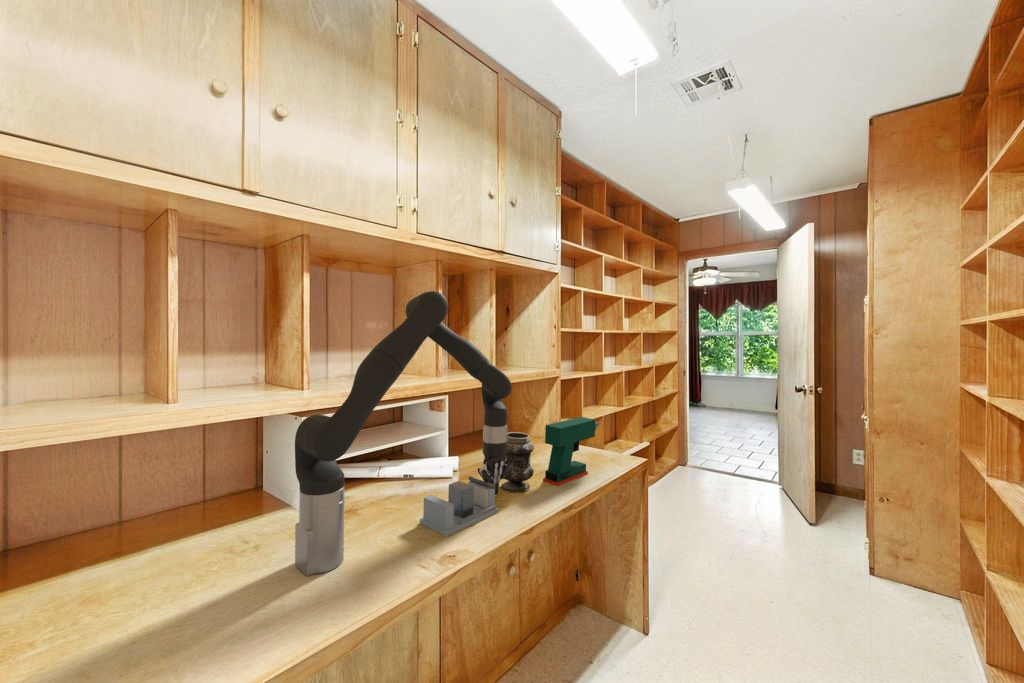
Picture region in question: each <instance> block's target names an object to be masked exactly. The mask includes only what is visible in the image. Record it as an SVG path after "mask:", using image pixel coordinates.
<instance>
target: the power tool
mask: <svg viewBox="0 0 1024 683" xmlns="http://www.w3.org/2000/svg"><path fill="white" fill-rule="evenodd" d="M601 424H602V422H597V421H596V419H594V418H589V417H585V416H580V417H575V418H571V419H565V420H562V421H557V422H553V423H549V424H548V423H547V424H545V429H544V430H545V434H544V435H545V437H544V444H546V445H550V446H551V452H550V457H549V462H548V467H547V470H545V472H544V474H545V475H544V477H543V478H542V482H544V483H546V484H550V485H551V486H555V487H560V486H562V485H564V484H567V483H570V482H571V481H574V479H575V480H577V479H579V477H580V478H582V477H584V475H585V476H587V475H588V474H589V471H588V470H587V464H586V463H584V462H580V461H577V460H572V458H573V453H575V452H577V451H579V450H580V442H582V441H586V440H588V439H592V438H595V437H596V431H597V429H598V426H600V425H601Z"/></svg>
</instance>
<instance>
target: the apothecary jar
mask: <svg viewBox="0 0 1024 683" xmlns="http://www.w3.org/2000/svg"><path fill="white" fill-rule="evenodd" d="M534 450H535V444H534V443H533V441H531V436H530V434H528V433H525V432H520V431H510V432H509V431H508V437H507V454H506V455H505V457H506V460H507V461H510V465H509V468H508V470H507V472H506V474H505V476H504V479H503V480H506V481H505V482H504V483H501V485H500V488H501V490H503V491H504V492H507V493H513V494H515V493H516V494H520V493H527V492H528V491H529V490H530V489H531V486H530V484H529V483H528V482H526V481H528V480H530V479H531V478H532V477H533V475H534V474H535V473H534V472H535V471H534V468H533V466H532V465H531V455H532V453H533V452H534ZM502 472H503V471H502Z"/></svg>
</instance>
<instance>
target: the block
mask: <svg viewBox="0 0 1024 683" xmlns="http://www.w3.org/2000/svg"><path fill="white" fill-rule="evenodd" d="M447 502H449V503H452V504H454V515H455V516H458V517H460V518H462V519H464V518H466V517H468V516H470V515H472V514H473V502H474V486H472V485H469V484H468V483H466V482H464V481H461V480H458V481H455V482H452V483H449V484H448V501H447Z"/></svg>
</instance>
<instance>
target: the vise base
mask: <svg viewBox="0 0 1024 683" xmlns="http://www.w3.org/2000/svg"><path fill="white" fill-rule="evenodd" d="M499 510H500V509H499V507H497V505H496V504H495V505H492V506H490V507H488V508H486V509H485V508H482V507H480V506H477V505H475V504H473V514H472V515H470V516H468V517H466V518H464V519H462V518H460V517H458V516H455V515H454V504H452V503H449V502H448V501H446V500H444V499H443V498H440V497H438V496H436V495H433V494H429V495H427V496H424V497H423V515H422V516H423V517H421V518H419V524H421V525H422V526H425V527H427V528H429V529H431V530H432V531H435V532H437V533H438V534H440V535H442V536H444V537H448V536H451V535H453V534H455V533H457V532H459V531H462V530H463V529H466V528H468V527H470V526H472V525H474V524H476V523H478V522H481V521H483V520H485V519H487V518H489V517H491V516H493V515H495V514H497V513H499Z"/></svg>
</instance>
